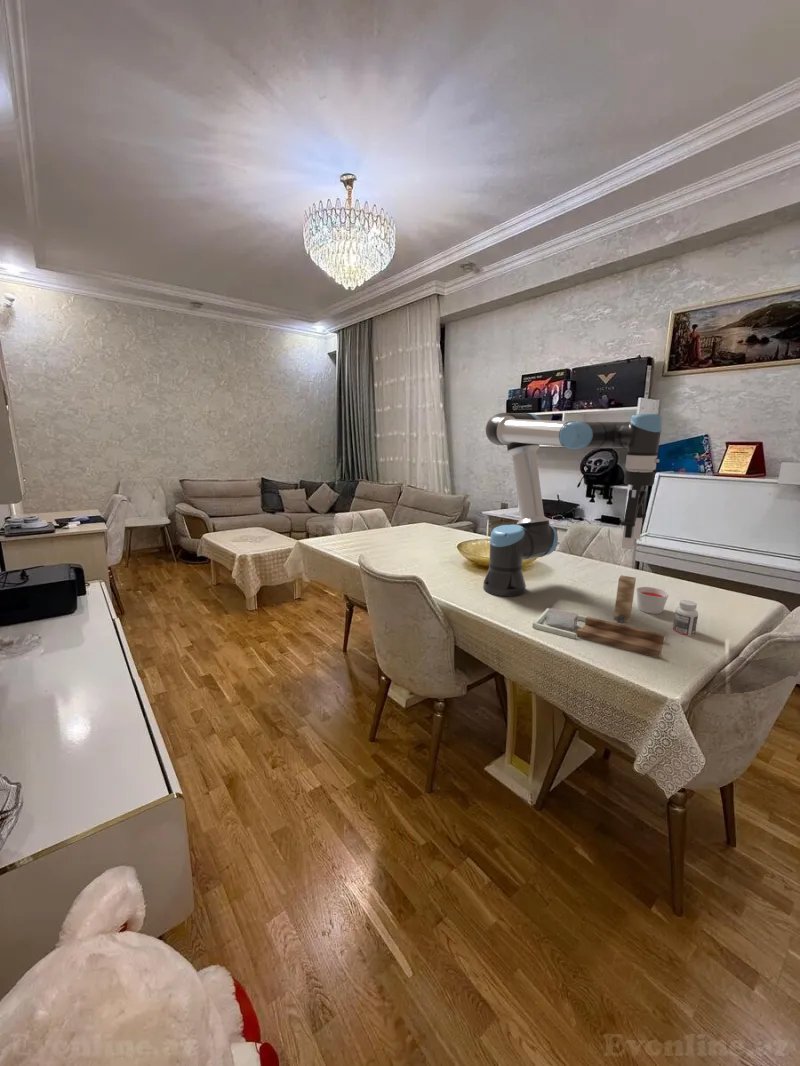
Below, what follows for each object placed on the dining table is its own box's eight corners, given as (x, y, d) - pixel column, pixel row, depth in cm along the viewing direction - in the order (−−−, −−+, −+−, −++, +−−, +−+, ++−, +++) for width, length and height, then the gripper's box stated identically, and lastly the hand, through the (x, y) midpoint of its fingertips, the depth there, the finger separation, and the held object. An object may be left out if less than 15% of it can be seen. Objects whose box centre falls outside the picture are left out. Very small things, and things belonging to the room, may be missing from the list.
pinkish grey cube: (558, 628, 126) (560, 615, 125) (562, 623, 129) (564, 610, 128) (573, 631, 124) (574, 618, 123) (576, 626, 127) (578, 614, 126)
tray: (532, 630, 126) (532, 623, 125) (547, 614, 137) (547, 607, 136) (574, 642, 119) (575, 634, 119) (587, 624, 130) (587, 616, 130)
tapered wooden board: (612, 623, 130) (617, 580, 127) (616, 616, 136) (622, 573, 132) (627, 627, 128) (632, 582, 125) (631, 619, 133) (636, 576, 130)
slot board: (576, 639, 120) (577, 630, 120) (585, 625, 129) (586, 616, 128) (658, 661, 109) (660, 651, 108) (663, 644, 117) (664, 634, 117)
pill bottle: (685, 629, 126) (690, 598, 124) (699, 638, 121) (704, 606, 119) (668, 630, 126) (672, 599, 124) (680, 638, 121) (685, 606, 118)
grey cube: (545, 624, 128) (546, 612, 127) (549, 620, 132) (550, 607, 131) (558, 628, 126) (560, 615, 125) (562, 623, 129) (563, 610, 128)
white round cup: (656, 604, 144) (659, 587, 143) (671, 616, 136) (674, 597, 134) (629, 604, 145) (631, 586, 143) (642, 615, 136) (644, 596, 135)
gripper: (649, 475, 109) (639, 555, 114) (660, 468, 129) (651, 536, 134) (617, 473, 113) (608, 550, 118) (632, 466, 133) (624, 533, 138)
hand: (630, 543), depth 126 cm, fingers open, 13 cm apart
